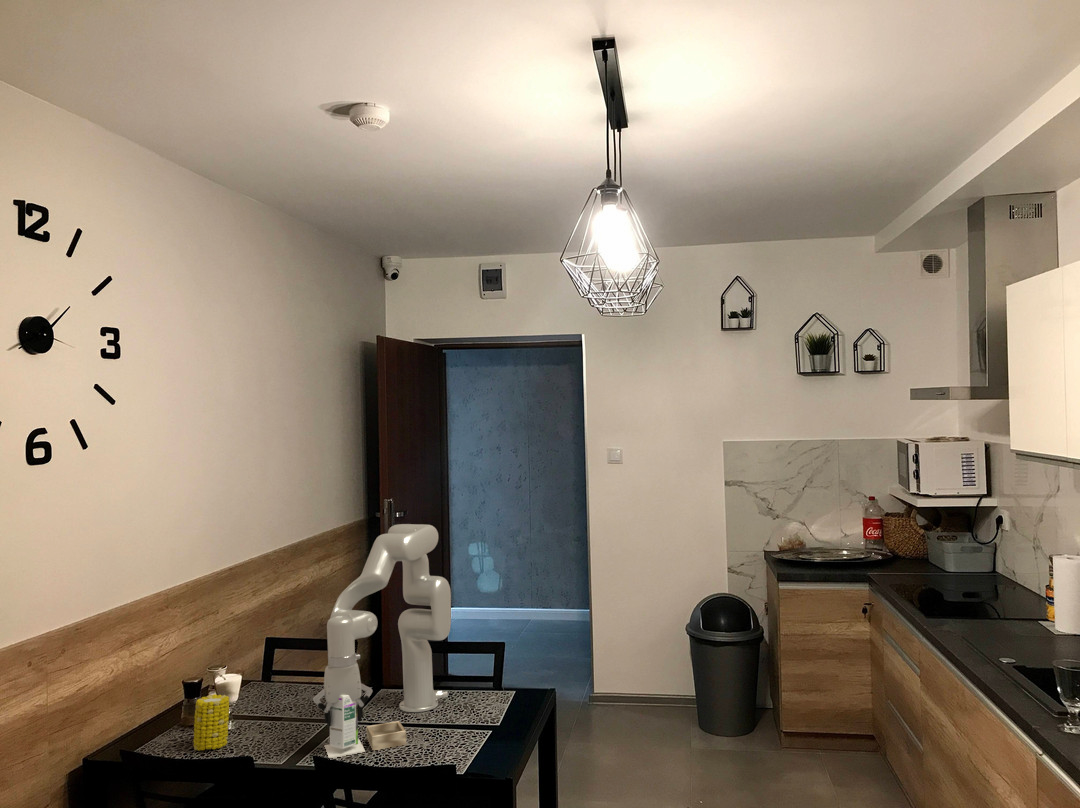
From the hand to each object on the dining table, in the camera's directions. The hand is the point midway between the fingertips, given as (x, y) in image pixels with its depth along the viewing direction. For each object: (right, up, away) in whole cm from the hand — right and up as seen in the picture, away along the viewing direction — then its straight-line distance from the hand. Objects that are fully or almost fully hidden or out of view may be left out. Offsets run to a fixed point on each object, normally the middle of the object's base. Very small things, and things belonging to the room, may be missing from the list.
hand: (344, 722), depth 237 cm
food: (-40, -10, +7) cm, 42 cm away
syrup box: (0, -6, -1) cm, 6 cm away
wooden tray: (+11, -7, +4) cm, 14 cm away
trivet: (0, -8, 0) cm, 8 cm away
